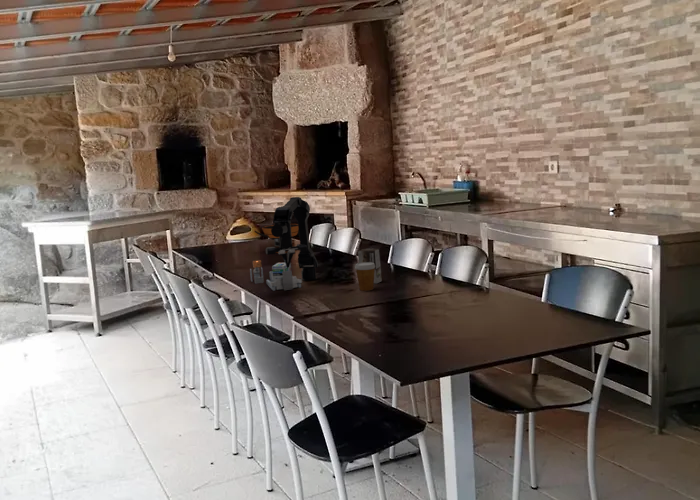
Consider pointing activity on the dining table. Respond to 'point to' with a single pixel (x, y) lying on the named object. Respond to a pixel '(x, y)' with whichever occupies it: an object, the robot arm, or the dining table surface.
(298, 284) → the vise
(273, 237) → the cup
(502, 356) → the dining table surface
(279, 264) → the light bulb box
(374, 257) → the coffee box
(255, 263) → the lever
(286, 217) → the robot arm
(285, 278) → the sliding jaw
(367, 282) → the disposable coffee cup
